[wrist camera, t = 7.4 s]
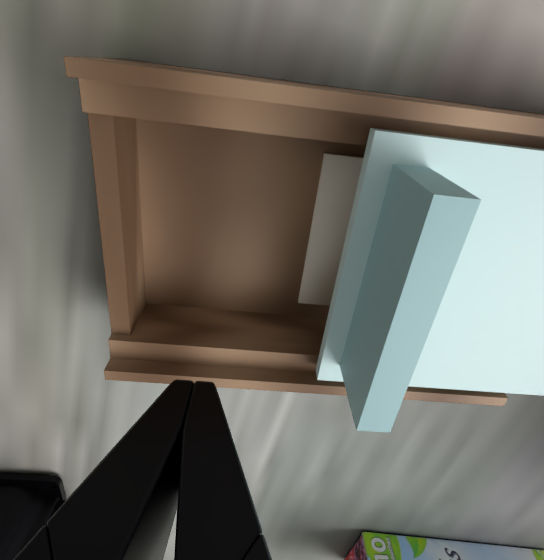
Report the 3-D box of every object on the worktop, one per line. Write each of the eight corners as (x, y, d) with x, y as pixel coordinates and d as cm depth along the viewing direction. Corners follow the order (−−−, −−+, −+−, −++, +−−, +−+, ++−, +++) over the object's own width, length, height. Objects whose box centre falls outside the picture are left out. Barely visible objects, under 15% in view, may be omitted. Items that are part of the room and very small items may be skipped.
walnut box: (135, 317, 20) (105, 379, 16) (117, 58, 15) (63, 56, 11) (459, 343, 22) (503, 405, 18) (560, 116, 16) (660, 134, 12)
